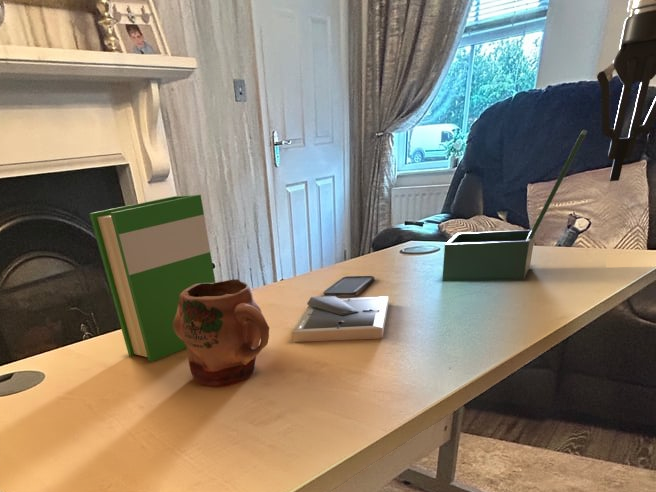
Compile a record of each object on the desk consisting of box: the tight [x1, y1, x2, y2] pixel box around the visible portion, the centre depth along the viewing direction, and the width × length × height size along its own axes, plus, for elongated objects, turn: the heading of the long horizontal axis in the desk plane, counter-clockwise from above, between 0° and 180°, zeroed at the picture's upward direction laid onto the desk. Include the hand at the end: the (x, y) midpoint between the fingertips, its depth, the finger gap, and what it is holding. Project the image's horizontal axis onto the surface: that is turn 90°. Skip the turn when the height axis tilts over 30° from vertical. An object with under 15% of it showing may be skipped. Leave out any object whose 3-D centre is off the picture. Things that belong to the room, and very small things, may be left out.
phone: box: [323, 275, 375, 298], centre depth 121 cm, size 8×1×15 cm
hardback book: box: [89, 194, 216, 363], centre depth 95 cm, size 18×7×24 cm, turn 136°
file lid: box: [528, 129, 588, 239], centre depth 104 cm, size 18×13×1 cm
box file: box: [441, 229, 536, 282], centre depth 116 cm, size 17×13×8 cm
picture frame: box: [291, 295, 389, 343], centre depth 100 cm, size 16×3×21 cm
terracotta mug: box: [173, 278, 270, 388], centre depth 80 cm, size 20×12×14 cm, turn 49°
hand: (614, 179), depth 100 cm, fingers closed
